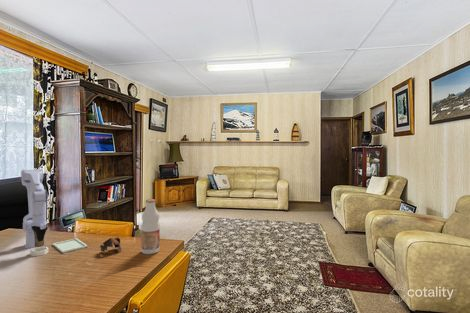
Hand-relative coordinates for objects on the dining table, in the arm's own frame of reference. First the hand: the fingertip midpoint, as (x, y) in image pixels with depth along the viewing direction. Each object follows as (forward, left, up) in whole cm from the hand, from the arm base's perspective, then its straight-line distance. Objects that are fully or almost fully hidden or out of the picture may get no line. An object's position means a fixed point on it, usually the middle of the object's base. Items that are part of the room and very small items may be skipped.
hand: (39, 240), depth 134 cm
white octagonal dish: (0, 0, -7) cm, 7 cm away
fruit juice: (+39, +41, -8) cm, 57 cm away
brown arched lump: (+24, +27, -8) cm, 37 cm away
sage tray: (0, +14, -7) cm, 16 cm away
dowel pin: (0, 0, -3) cm, 3 cm away
